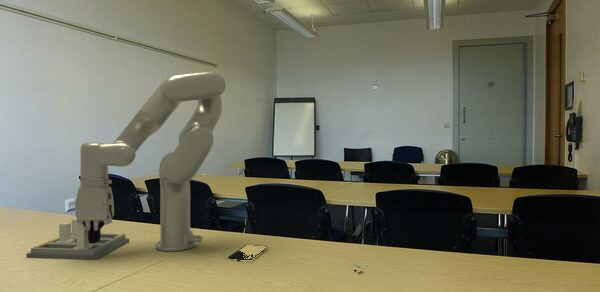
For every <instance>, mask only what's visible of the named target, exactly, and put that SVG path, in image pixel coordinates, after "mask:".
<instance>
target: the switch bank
mask: <svg viewBox="0 0 600 292" xmlns="http://www.w3.org/2000/svg"><path fill="white" fill-rule="evenodd" d="M71 235H72V232H71ZM71 239H75V243H74V242H56V241H59V237H55V238H53V239H49V240H48V241H46V242H43V243H40V244H39V243H38V244H37V245H35V246H33V247H32V248H30V251H29V252H27V253H26V254H25V255H26V258H27V259H28V258H29V259H60V260H61V259H62V260H63V259H64V260H91V261H93V260H94V261H95V260H96V261H97V260H99V259H101V258H103V257H104V256H107V254H110V253H112V252H113V251H115V250H117V249H119V248H121V247H122V246H125V245H126V244H128V243H130V238H128V237H126V233H100V241H99V242H97V243H95V244H93V243H91V244H89V246H93V249H73V248H75V247H77V237H71Z"/></svg>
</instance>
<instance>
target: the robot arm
mask: <svg viewBox="0 0 600 292" xmlns="http://www.w3.org/2000/svg"><path fill="white" fill-rule="evenodd" d="M225 80H226V79H225V78H224V77H223V76H222V75H221V74H220V73H218V72H216V71H205V72H195V73H186V74H175V75H171V76H169V77H167V78H166V79H164V80H163V81H162V82H161V84H160V85H159V86H158V87H157V88H156V90H155V91H154V92H153V93H152V94H151V95H150V97H149V98H148V99H147V101H145V103H144V104H143V105H142V106H141V107H140V109H138V111H137V112H136V114H135V115H134V116H133V118H132V119H131V121H130V122H129V123H128V124H127V125H126V126H125V128H123V130H122V131H121V133H120V134H119V135H118V136H117V137H116V138H115V140H114V141H113V142H112V143H104V142H85V143H82V144H81V146H80V187H78V188H77V193H76V198H75V199H76V200H75V217H76V218H75V219H77V221H76V222H77V223H80V224H83V225H84V226H85V227H86V230H88V240H89V244H91V243H93V244H95V243H97V242H99V241H100V234H101V229H103V227H104V226H105V225H110V224H112V223H113V218H114V216H115V206H114V205H115V204H114V202H115V201H114V195H113V191H112V190H113V189H112V187H111V186H109V185H112V183H113V182H112V181H113V180H112V179H109V166H111V167H120V168H122V167H124V168H125V167H127V166H129V165H132V163H133V162H134V161H135V159H136V153H137V151H138V150H139V148H140V147H141V146H142V145H144V143H145V141H147V139H148V138H149V137H151V136H152V135H153V134H154V133H157V132H158V131H159V130H160V128H162V127H163V125H164V124H165V123H166V122H167V120H169V118H170V116H171V115H172V114H173V113H174V112H175V110H176V109H177V108H178V106H179V105H180V104H181V103H182V102H188V101H189V102H190V101H191V102H192V101H197V105H196V108H195V110H194V112H193V114H192V115H191V117H190V119H189V120H188V122H187V123H186V125H185V126H184V127H183V129H182V130H181V131H180V133H179V135H178V145H177V146H176V148H175V149H174V151H173V152H169V153H167V154H164V156H163V157H162V159H161V160H160V162H159V167H158V170H159V171H158V172H159V184H160V185H159V186H160V191H159V193H160V200H159V201H160V213H159V214H160V218H159V219H160V222H159V223H160V226H159V227H160V240H159V241H158V242H156V243H155V249H156V250H158V251H163V252H178V251H185V249H186V250H189V249H191V248H193V247H194V246H195V245H196V243H203V236H202V235H199V234H198V235H196V234H194V231H193V230H191V184H190V183H191V182H190V181H191V180H192V179H193V178H194V177H195V176H196V174H197V172H198V171H199V169H200V168H201V167H202V165H203V163H204V162H205V160H206V158H207V156H208V155H209V153H210V152H211V150H212V147H213V146H214V134H213V131H214V129H215V127H216V126H217V124H218V122H219V121H220V118H221V115H222V111H223V102H222V97H221V96H222V95H223V94H224V92H225V90H226V87H227V86H226V85H227V84H226V81H225ZM94 221H95V223H94Z"/></svg>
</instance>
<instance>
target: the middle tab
mask: <svg viewBox="0 0 600 292" xmlns="http://www.w3.org/2000/svg"><path fill="white" fill-rule="evenodd" d="M71 233H72V222H62V223H59V224H58V238H59V241H56V242H74V243H75V239H71Z"/></svg>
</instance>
